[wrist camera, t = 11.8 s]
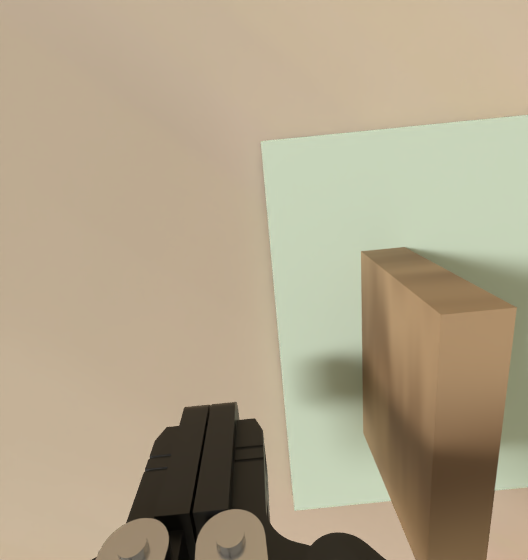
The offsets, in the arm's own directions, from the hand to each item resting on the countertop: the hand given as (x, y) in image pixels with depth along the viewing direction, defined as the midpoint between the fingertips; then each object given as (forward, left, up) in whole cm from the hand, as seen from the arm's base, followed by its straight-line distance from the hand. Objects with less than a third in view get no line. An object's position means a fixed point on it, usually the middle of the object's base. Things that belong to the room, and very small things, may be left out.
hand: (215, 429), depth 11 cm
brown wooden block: (0, +6, -4) cm, 7 cm away
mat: (0, +9, -4) cm, 10 cm away
